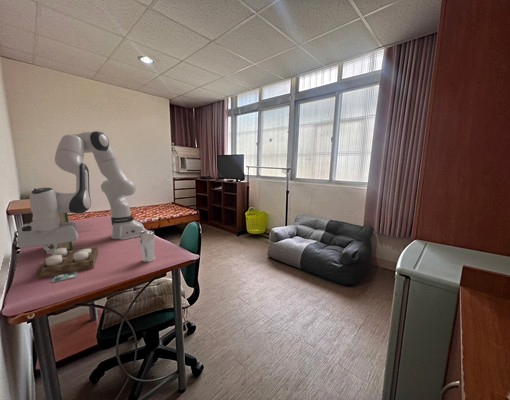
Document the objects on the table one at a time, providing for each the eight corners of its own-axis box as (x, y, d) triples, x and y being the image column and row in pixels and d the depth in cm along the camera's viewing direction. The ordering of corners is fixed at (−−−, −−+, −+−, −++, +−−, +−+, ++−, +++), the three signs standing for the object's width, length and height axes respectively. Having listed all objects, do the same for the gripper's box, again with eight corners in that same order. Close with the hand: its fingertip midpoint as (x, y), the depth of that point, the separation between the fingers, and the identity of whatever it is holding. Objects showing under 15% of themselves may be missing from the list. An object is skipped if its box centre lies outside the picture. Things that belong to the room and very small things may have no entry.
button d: (64, 260, 106) (62, 253, 106) (61, 265, 102) (60, 258, 101) (48, 263, 104) (47, 256, 103) (44, 268, 99) (43, 261, 98)
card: (77, 272, 102) (77, 271, 102) (75, 277, 97) (75, 276, 97) (55, 276, 99) (55, 275, 98) (51, 282, 93) (51, 281, 93)
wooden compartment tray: (98, 253, 123) (97, 246, 123) (93, 268, 106) (92, 260, 106) (51, 261, 113) (49, 254, 113) (38, 279, 96) (36, 270, 96)
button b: (68, 253, 115) (67, 247, 114) (66, 257, 110) (65, 250, 109) (54, 255, 112) (53, 249, 111) (51, 259, 107) (50, 253, 107)
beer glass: (140, 263, 111) (137, 235, 109) (143, 257, 118) (140, 230, 115) (155, 261, 113) (152, 233, 111) (157, 256, 120) (155, 229, 117)
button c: (89, 256, 111) (88, 249, 111) (87, 260, 106) (87, 253, 106) (75, 258, 108) (74, 252, 108) (73, 263, 104) (72, 256, 103)
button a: (92, 253, 120) (91, 247, 120) (91, 257, 115) (90, 251, 115) (79, 255, 117) (78, 249, 117) (77, 259, 113) (77, 253, 112)
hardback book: (72, 249, 129) (66, 209, 124) (56, 253, 123) (49, 211, 119) (66, 242, 140) (60, 205, 136) (50, 245, 134) (43, 207, 130)
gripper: (77, 219, 107) (81, 246, 109) (19, 225, 97) (24, 255, 99) (75, 222, 101) (78, 251, 104) (12, 229, 91) (18, 260, 94)
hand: (51, 253), depth 101 cm, fingers closed
